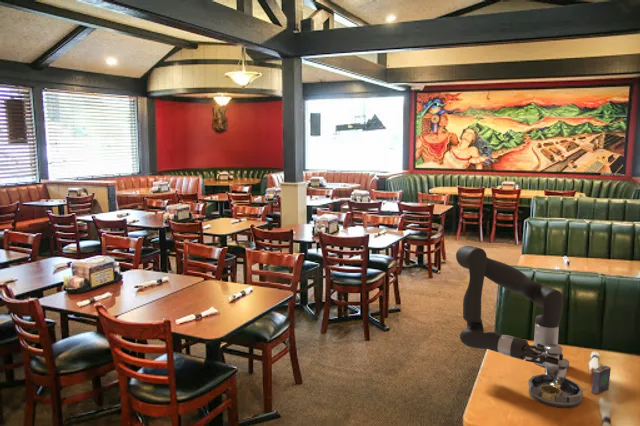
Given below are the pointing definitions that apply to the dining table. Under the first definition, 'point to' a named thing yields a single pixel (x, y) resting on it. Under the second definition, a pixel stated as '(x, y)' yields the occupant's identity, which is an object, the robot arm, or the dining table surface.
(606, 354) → the dining table surface
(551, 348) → the silver capped cylinder
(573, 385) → the carrier
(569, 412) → the dining table surface
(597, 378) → the flask
